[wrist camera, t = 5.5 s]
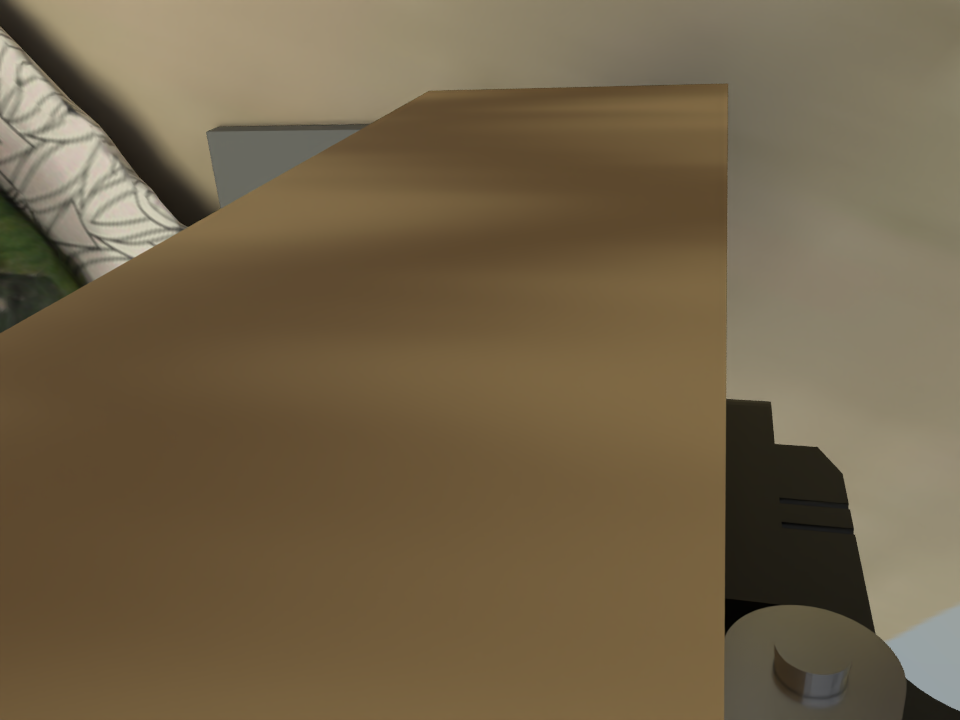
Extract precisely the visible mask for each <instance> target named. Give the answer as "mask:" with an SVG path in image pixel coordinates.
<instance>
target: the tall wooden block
mask: <svg viewBox="0 0 960 720" xmlns="http://www.w3.org/2000/svg"><path fill="white" fill-rule="evenodd" d="M727 162H728V84H691V85H650V86H609V87H568V88H527V89H486V90H444V91H428V92H426V93H424V94H423V95H421V96H419V97H417V98H416V99H414V100H412V101H410V102H409V103H407V104H405V105H403V106H401V107H400V108H398V109H396V110H394V111H393V112H391V113H389V114H387V115H386V116H384V117H382V118H380V119H378V120H377V121H375V122H373V123H371V124H370V125H368V126H366V127H364V128H363V129H361V130H359V131H357V132H355V133H354V134H352V135H350V136H348V137H347V138H345V139H343V140H341V141H340V142H338V143H336V144H334V145H332V146H331V147H329V148H327V149H325V150H324V151H322V152H320V153H318V154H317V155H315V156H313V157H311V158H310V159H308V160H306V161H304V162H302V163H301V164H299V165H297V166H295V167H294V168H292V169H290V170H288V171H287V172H285V173H283V174H281V175H279V176H278V177H276V178H274V179H272V180H271V181H269V182H267V183H265V184H264V185H262V186H260V187H258V188H256V189H255V190H253V191H251V192H249V193H248V194H246V195H244V196H242V197H241V198H239V199H237V200H235V201H233V202H232V203H230V204H228V205H226V206H225V207H223V208H221V209H219V210H218V211H216V212H214V213H212V214H210V215H209V216H207V217H205V218H203V219H202V220H200V221H198V222H196V223H195V224H193V225H191V226H189V227H187V228H186V229H184V230H182V231H180V232H179V233H177V234H175V235H173V236H172V237H170V238H168V239H166V240H164V241H163V242H161V243H159V244H157V245H156V246H154V247H152V248H150V249H149V250H147V251H145V252H143V253H141V254H140V255H138V256H136V257H134V258H133V259H131V260H129V261H127V262H126V263H124V264H122V265H120V266H118V267H117V268H115V269H113V270H111V271H110V272H108V273H106V274H104V275H103V276H101V277H99V278H97V279H96V280H94V281H92V282H90V283H88V284H87V285H85V286H83V287H81V288H80V289H78V290H76V291H74V292H73V293H71V294H69V295H67V296H65V297H64V298H62V299H60V300H58V301H57V302H55V303H53V304H51V305H50V306H48V307H46V308H44V309H42V310H41V311H39V312H37V313H35V314H34V315H32V316H30V317H28V318H27V319H25V320H23V321H21V322H19V323H18V324H16V325H14V326H12V327H11V328H9V329H7V330H5V331H4V332H2V333H0V720H724V645H725V484H726V323H727Z"/></svg>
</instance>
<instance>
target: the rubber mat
mask: <svg viewBox="0 0 960 720" xmlns="http://www.w3.org/2000/svg"><path fill="white" fill-rule="evenodd" d="M368 125H370V124H367V125H301V126H235V127H217V128H214V129H212V130H209V131H207V132H206V134H207V139H208V144H209V150H210V155H211V160H212V166H213V171H214V176H215V182H216V187H217V192H218V198H219V203H220V208H223V207H225V206H226V205H228V204H230V203H232V202H233V201H235V200H237V199H239V198H241V197H242V196H244V195H246V194H248V193H249V192H251V191H253V190H255V189H256V188H258V187H260V186H262V185H264V184H265V183H267V182H269V181H271V180H272V179H274V178H276V177H278V176H279V175H281V174H283V173H285V172H287V171H288V170H290V169H292V168H294V167H295V166H297V165H299V164H301V163H302V162H304V161H306V160H308V159H310V158H311V157H313V156H315V155H317V154H318V153H320V152H322V151H324V150H325V149H327V148H329V147H331V146H332V145H334V144H336V143H338V142H340V141H341V140H343V139H345V138H347V137H348V136H350V135H352V134H354V133H355V132H357V131H359V130H361V129H363V128H364V127H366V126H368Z"/></svg>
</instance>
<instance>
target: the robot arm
mask: <svg viewBox="0 0 960 720" xmlns="http://www.w3.org/2000/svg"><path fill="white" fill-rule="evenodd" d="M848 505H849V503H848V498H847V493H846V488H845V484H844V479H843V474H842V473H841V472H840V471H839V470H838V469H837V467H836V466H835V465H834V464H833V463H832V462H831V461H830V460H829V459H828V458H827V457H826V456H825V455H824V454H823V453H822V451H821V450H820V449H819V448H818V447H808V446H795V445H781V444H775V443H774V431H773V420H772V408H771V402H768V401H751V400H735V399H726V484H725V645H724V720H960V711H958V710H956V709H953V708H951V707H949V706H947V705H945V704H943V703H942V702H940V701H938V700H936V699H934V698H932V697H931V696H929V695H928V694H926V693H924V692H923V691H922V690H920V689H919V688H917V687H916V686H915V685H914V684H912V683H911V682H910V681H908V680H907V679H906V677H905V673H904V670H903V668H902V666H901V663H900V662H899V659H898V658H897V656H895V654H894V652H893V651H892V650H891V648H889V646H888V645H887V644H886V643H885V642H884V641H883V640H882V639H881V638H880V637H878V636H877V635H876V633H875V629H874V625H873V620H872V615H871V610H870V605H869V600H868V595H867V591H866V586H865V581H864V576H863V571H862V566H861V561H860V556H859V552H858V547H857V542H856V537H855V535H854V534H853V531H854V527H853V522H852V518H851V513H850V509H848Z"/></svg>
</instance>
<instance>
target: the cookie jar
mask: <svg viewBox="0 0 960 720" xmlns="http://www.w3.org/2000/svg"><path fill="white" fill-rule="evenodd" d="M186 228H187V226H185V225H183V224H182V223H180V222H179V221H178V220H177V219H176V218H175V217H174V216H173V215H172V213H171V212H170V211H169V210H168V209H167V208H166V207H165V206H164V205H163V203H162V202H161V201H160V200H159V199H158V197H157V196H156V194H155V193H154V191H153V190H152V189H151V188H150V187H149V186H148V185H147V184H146V183H145V182H144V181H143V180H141V179H140V178H139V177H138V175H137V174H136V173H135V171H134V170H133V169H132V167H131V166H130V164H129V163H128V162H127V161H126V159H125V158H124V157H123V156H122V154H121V153H120V151H119V150H118V148H117V147H116V146H115V144H114V143H113V141H112V140H111V139H110V138H109V137H108V135H107V134H106V133H105V132H104V130H103V129H102V128H101V127H100V126H99V124H97V123H96V122H95V121H94V120H93V119H92V118H91V117H90V116H88V115H87V114H86V113H85V112H84V111H83V110H82V109H81V108H79V107H78V106H77V105H76V104H75V103H74V102H73V101H72V100H71V99H70V98H69V97H68V96H67V95H66V94H65V93H64V92H63V91H62V90H61V89H60V88H59V87H58V86H57V85H56V84H55V83H54V82H53V81H52V79H51V78H50V77H49V76H48V75H47V74H46V73H45V72H44V71H43V70H42V69H41V68H40V67H39V66H38V65H37V64H36V63H35V62H34V61H33V60H32V59H31V58H30V57H29V55H28V54H27V53H26V52H25V51H24V50H23V49H22V48H21V47H20V46H19V45H18V44H17V43H16V42H15V41H14V40H13V39H12V38H11V37H10V36H9V35H8V34H7V33H6V32H5V31H4V30H3V29H2V28H1V27H0V333H2V332H4V331H5V330H7V329H9V328H11V327H12V326H14V325H16V324H18V323H19V322H21V321H23V320H25V319H27V318H28V317H30V316H32V315H34V314H35V313H37V312H39V311H41V310H42V309H44V308H46V307H48V306H50V305H51V304H53V303H55V302H57V301H58V300H60V299H62V298H64V297H65V296H67V295H69V294H71V293H73V292H74V291H76V290H78V289H80V288H81V287H83V286H85V285H87V284H88V283H90V282H92V281H94V280H96V279H97V278H99V277H101V276H103V275H104V274H106V273H108V272H110V271H111V270H113V269H115V268H117V267H118V266H120V265H122V264H124V263H126V262H127V261H129V260H131V259H133V258H134V257H136V256H138V255H140V254H141V253H143V252H145V251H147V250H149V249H150V248H152V247H154V246H156V245H157V244H159V243H161V242H163V241H164V240H166V239H168V238H170V237H172V236H173V235H175V234H177V233H179V232H180V231H182V230H184V229H186Z"/></svg>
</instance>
